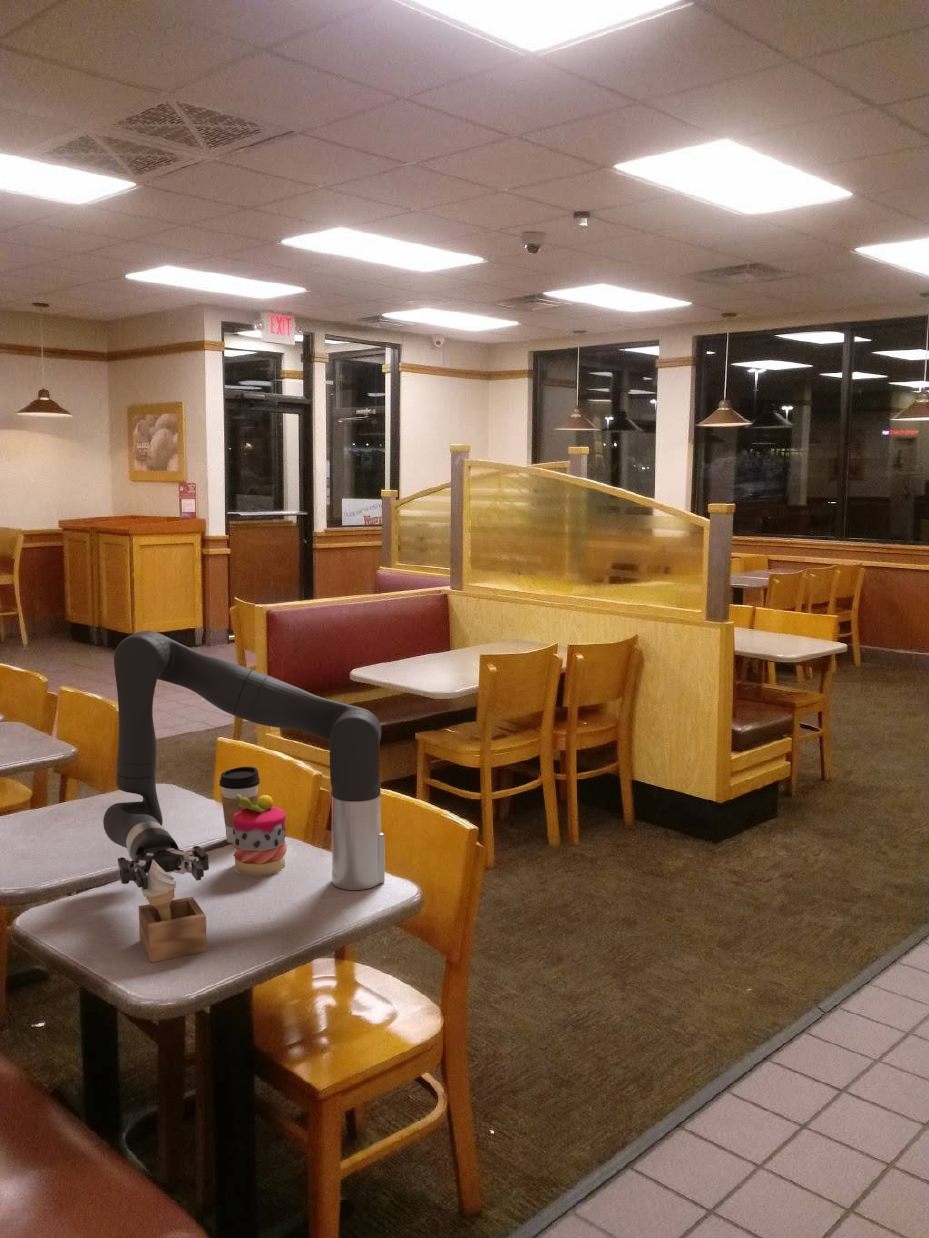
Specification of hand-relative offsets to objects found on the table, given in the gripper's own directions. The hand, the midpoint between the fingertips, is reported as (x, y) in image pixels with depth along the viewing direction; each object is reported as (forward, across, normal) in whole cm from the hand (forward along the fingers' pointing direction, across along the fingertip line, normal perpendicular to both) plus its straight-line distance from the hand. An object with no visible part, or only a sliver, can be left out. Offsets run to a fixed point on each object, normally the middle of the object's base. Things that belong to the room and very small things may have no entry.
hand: (172, 879), depth 169 cm
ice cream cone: (-2, 0, +12) cm, 12 cm away
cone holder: (-2, 0, +12) cm, 12 cm away
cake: (-30, +24, +12) cm, 40 cm away
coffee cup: (-46, +25, +12) cm, 54 cm away
